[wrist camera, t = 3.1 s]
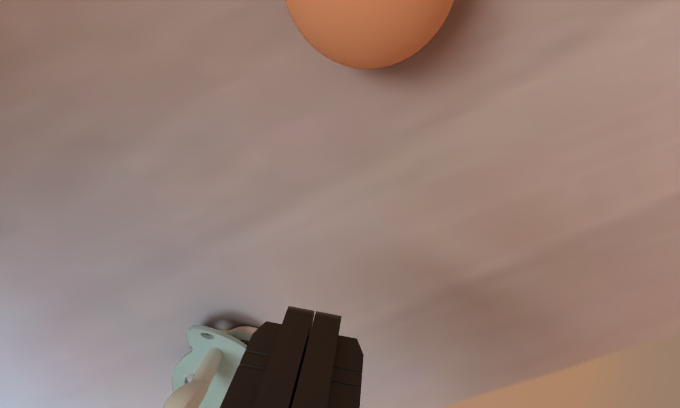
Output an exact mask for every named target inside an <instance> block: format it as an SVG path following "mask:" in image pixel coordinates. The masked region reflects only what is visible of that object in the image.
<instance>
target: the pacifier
mask: <svg viewBox="0 0 680 408" xmlns="http://www.w3.org/2000/svg"><path fill="white" fill-rule="evenodd" d="M257 329H258V328H254V327H250V326H243V327H237V328H234V329H231V330H229V331H228V330H217V329H213V328H210V327H206V326H201V325H194V326H192V327H191V328H190V329H189V330H188V331H187V333H186V337H187V341H188V343H189V345H190V346H191V347H192V351H191V352H189V353H187V354H186V355H185V356H184V357H183V358H182V359H181V361H180V362H179V363H178V364H177V366H176V368H175V370H174V374H173V377H172V388H173V394H172V395H171V396H170V397H169V398H168V400H167V401H166V403H165V405H164V406H163V408H220V406H221V404H222V401H223V399H224V397H225V395H226V392H227V390H228V388H229V386H230V383H231V381H232V379H233V377H234V374H235V372H236V370H237V368H238V366H239V364H240V361H241V359H242V356H243V354H244V353H245V350H246V347H247V345H246V344H244V343H243V342H242V341H240V340H247V341H250V338H251V336H252V334H253V333H254V332H255V331H256V330H257ZM204 333H207V334H210V336H209V335H206V334H204ZM190 374H195V375H194V377H193V379H192V381H191V382H188V381H187V376H188V375H190Z"/></svg>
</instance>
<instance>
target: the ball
mask: <svg viewBox="0 0 680 408" xmlns="http://www.w3.org/2000/svg"><path fill="white" fill-rule="evenodd" d="M285 1H286V4H287V7H288V10H289V12H290V15H291V17H292V19H293V21H294V23H295V25H296V26H297V28H298V29H299V31H300V33H301V34H302V35H303V36H304V38H305V39H306V40H307V41H308V43H310V44H311V45H312V46H313V47H314V48H315V49H316V50H317V51H318V52H320V53H321V54H322V55H324V56H325V57H327V58H329V59H331V60H332V61H334V62H337V63H339V64H342V65H345V66H349V67H353V68H361V69H374V68H381V67H386V66H390V65H393V64H396V63H398V62H400V61H403V60H405V59H407V58H408V57H410V56H412V55H413V54H415V53H416V52H418V51H419V50H420V49H421V48H422V47H424V46H425V45H426V44H427V43H428V42H429V41H430V40H431V39H432V38H433V37H434V35H435V34H436V33H437V31H438V30H439V29H440V27H441V26H442V25H443V23H444V21H445V19H446V18H447V16H448V14H449V12H450V10H451V7H452V5H453V3H454V0H285Z"/></svg>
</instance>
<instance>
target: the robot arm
mask: <svg viewBox="0 0 680 408" xmlns="http://www.w3.org/2000/svg"><path fill="white" fill-rule="evenodd" d="M313 318H314V311H312V310H307V309H301V308H296V307H291V306H289V307H288V309H287V312H286V315H285V317H284V320H283V323H282V324H277V323H272V322H265V323H264V324H263V325H262V326H260V327H259V328H258V329H257V330H256V331H255V332H254V333H253V334H252V336H251V338H250V341H249V343H248V345H247V347H246V350H245V353H244V354H243V356H242V359H241V361H240V364H239V366H238V368H237V370H236V372H235V374H234V377H233V379H232V381H231V383H230V386H229V388H228V390H227V392H226V395H225V397H224V399H223V401H222V404H221V406H220V408H359V407H360V394H361V380H362V367H363V353H362V350H361V348H360V345H359V343H358V340H357V339H355V338H350V337H344V336H339V335H338V334H339V328H340V322H341V316H338V315H333V314H328V313H323V312H318V311H316V314H315V318H314V321H313Z"/></svg>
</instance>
